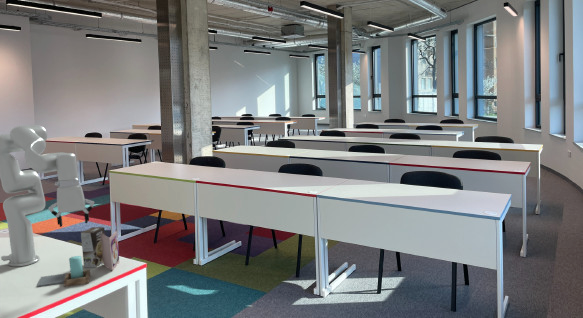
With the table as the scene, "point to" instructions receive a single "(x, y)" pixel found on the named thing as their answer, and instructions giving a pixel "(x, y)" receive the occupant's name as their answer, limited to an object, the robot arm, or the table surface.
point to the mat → (51, 280)
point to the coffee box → (92, 246)
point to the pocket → (77, 279)
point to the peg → (76, 267)
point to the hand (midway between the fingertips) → (74, 224)
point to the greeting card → (110, 250)
